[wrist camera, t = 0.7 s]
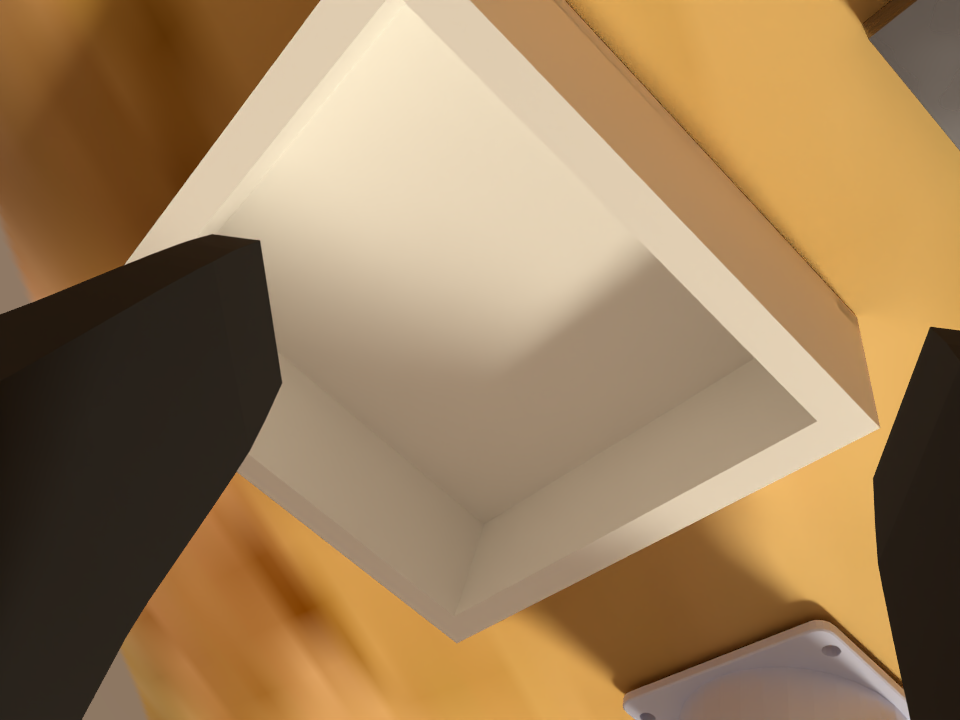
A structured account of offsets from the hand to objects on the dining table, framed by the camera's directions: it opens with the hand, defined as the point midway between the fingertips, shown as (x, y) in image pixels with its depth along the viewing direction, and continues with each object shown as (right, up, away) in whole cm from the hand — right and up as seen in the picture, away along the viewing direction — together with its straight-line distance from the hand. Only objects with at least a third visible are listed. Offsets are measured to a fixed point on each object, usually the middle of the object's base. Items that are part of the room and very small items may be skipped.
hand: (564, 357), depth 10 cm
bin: (-1, +2, +12) cm, 12 cm away
